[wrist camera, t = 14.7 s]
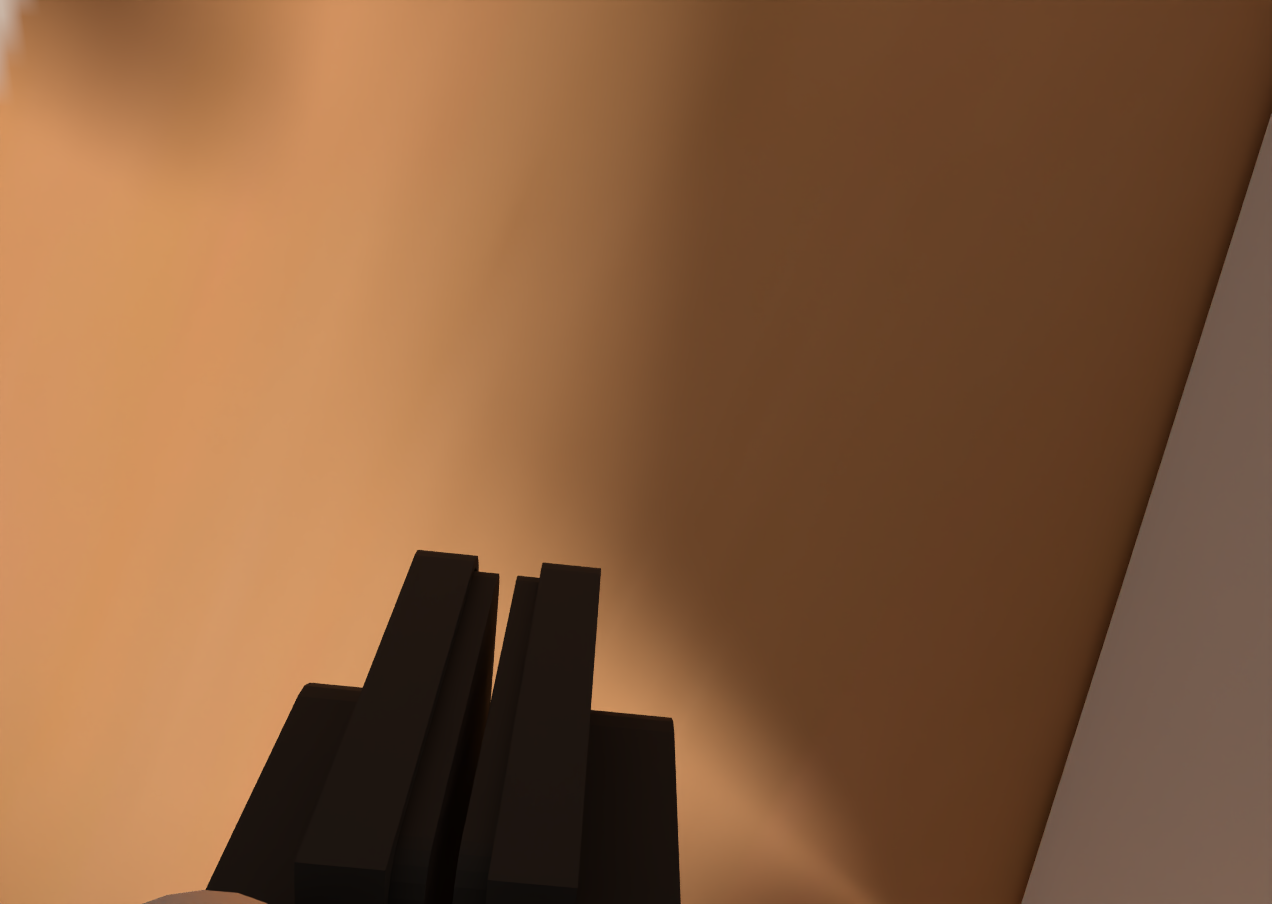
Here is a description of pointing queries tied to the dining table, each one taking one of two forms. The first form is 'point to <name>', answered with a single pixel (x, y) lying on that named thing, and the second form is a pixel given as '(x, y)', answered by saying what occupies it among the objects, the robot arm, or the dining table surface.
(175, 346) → the dining table surface
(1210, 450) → the grey open box
